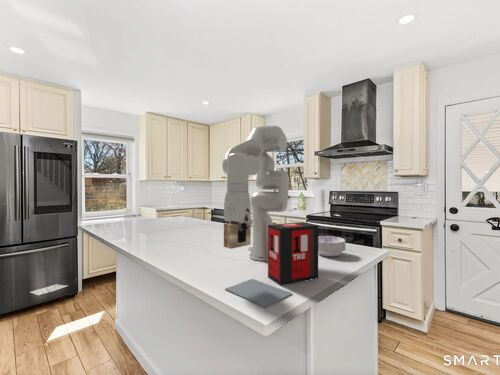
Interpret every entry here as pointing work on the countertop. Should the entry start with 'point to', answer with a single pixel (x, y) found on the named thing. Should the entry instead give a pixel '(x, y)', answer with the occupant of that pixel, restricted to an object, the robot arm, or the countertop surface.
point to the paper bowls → (331, 245)
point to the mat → (258, 292)
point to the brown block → (235, 235)
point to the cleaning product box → (292, 252)
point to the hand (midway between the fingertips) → (237, 240)
